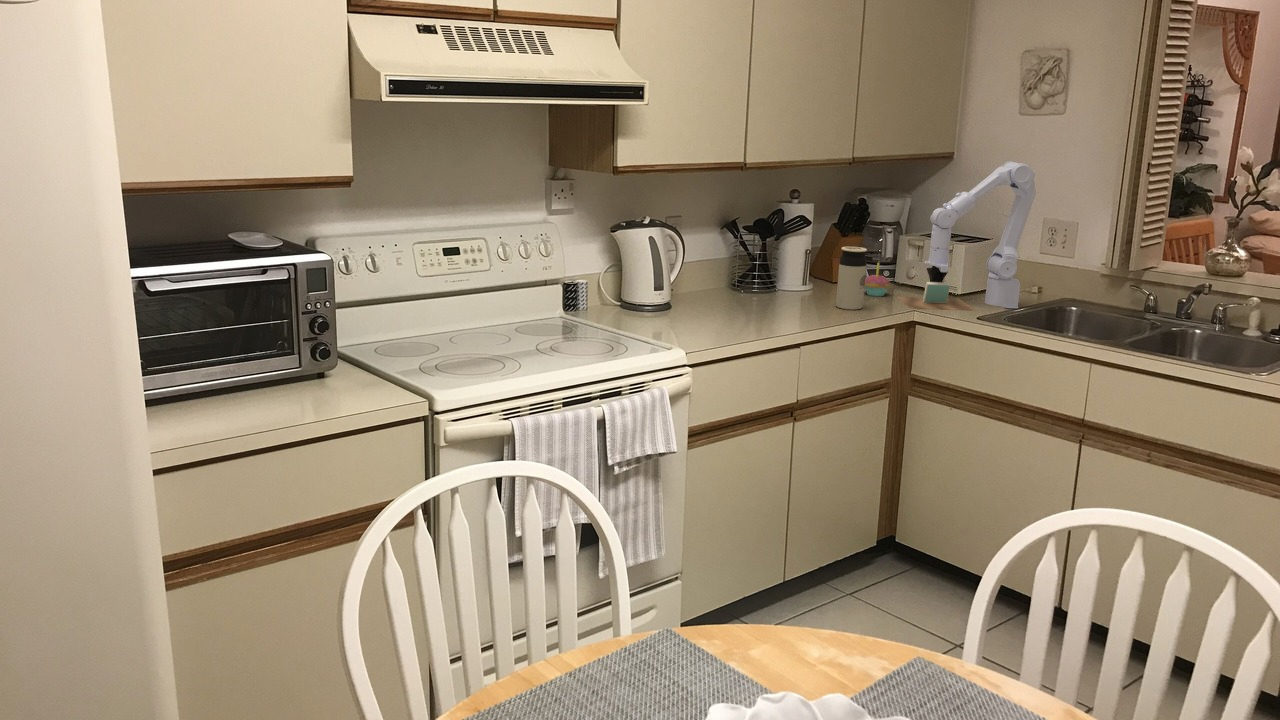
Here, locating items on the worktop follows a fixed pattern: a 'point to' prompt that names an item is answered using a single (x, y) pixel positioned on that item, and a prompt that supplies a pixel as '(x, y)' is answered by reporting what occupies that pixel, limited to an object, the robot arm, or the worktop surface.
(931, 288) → the tile
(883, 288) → the cupcake
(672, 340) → the worktop surface
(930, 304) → the board
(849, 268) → the travel mug
